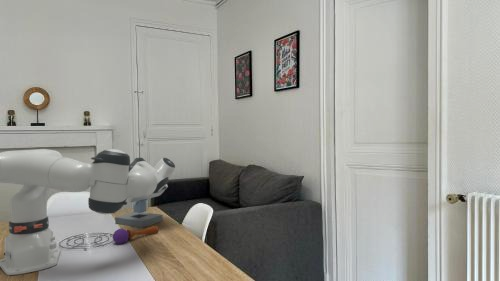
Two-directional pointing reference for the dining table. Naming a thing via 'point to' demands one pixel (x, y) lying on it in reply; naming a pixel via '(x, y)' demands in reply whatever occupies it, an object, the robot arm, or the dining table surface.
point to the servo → (140, 206)
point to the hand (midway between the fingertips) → (138, 202)
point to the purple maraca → (131, 234)
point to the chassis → (138, 219)
